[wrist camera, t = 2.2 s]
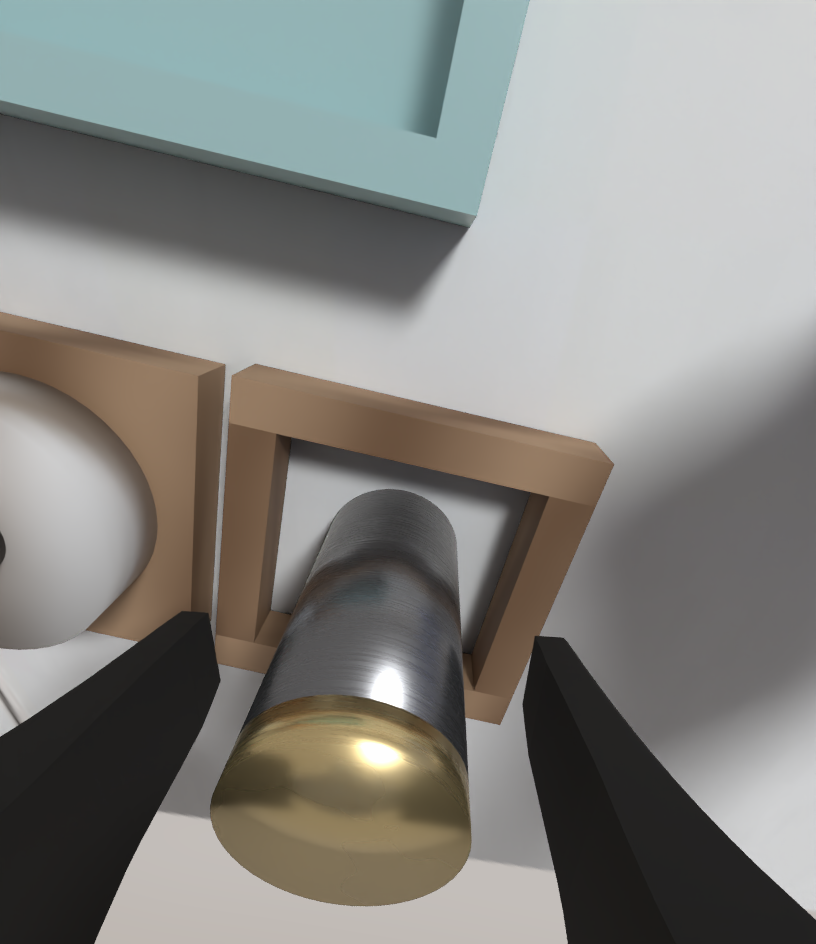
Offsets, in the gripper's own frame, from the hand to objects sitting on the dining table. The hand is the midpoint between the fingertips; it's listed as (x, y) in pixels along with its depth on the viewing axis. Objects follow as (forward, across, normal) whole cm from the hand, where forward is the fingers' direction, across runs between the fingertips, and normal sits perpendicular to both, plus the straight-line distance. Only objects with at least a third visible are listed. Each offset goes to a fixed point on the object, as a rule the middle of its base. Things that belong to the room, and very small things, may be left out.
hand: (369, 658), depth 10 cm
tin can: (+4, 0, 0) cm, 5 cm away
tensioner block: (+5, +5, -1) cm, 7 cm away
